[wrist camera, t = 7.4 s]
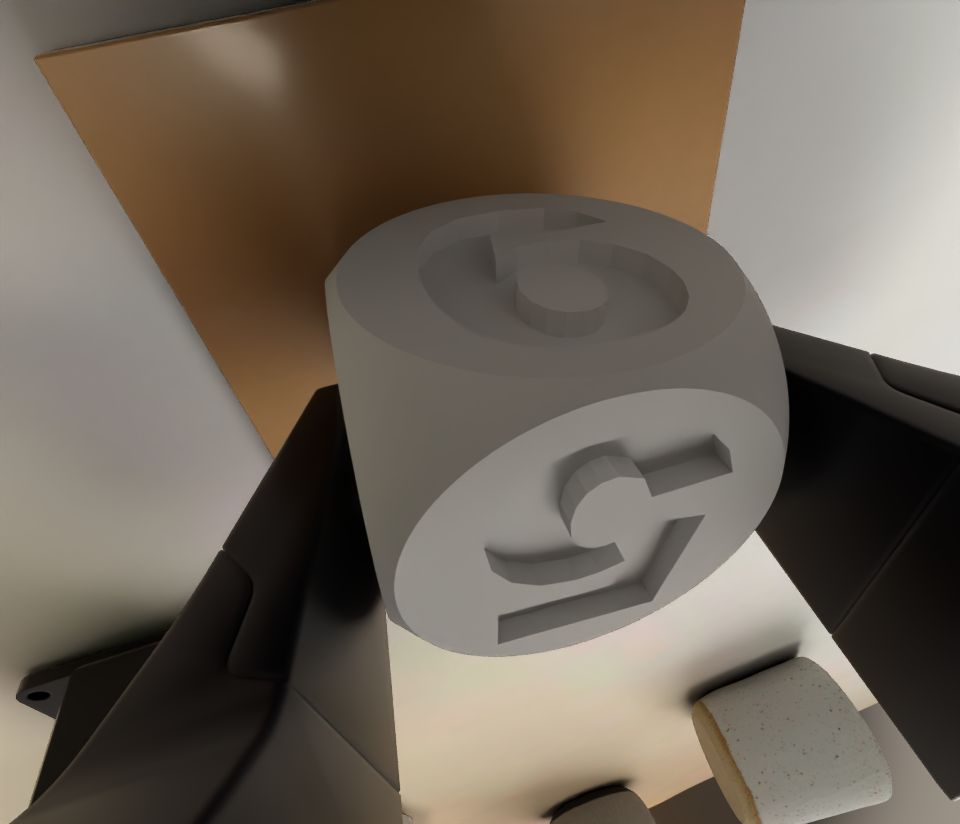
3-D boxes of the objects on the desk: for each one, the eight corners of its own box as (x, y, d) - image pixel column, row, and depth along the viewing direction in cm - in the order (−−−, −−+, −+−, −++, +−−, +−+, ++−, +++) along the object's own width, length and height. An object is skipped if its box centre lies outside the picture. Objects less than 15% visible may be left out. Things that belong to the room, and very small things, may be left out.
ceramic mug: (682, 689, 32) (766, 847, 26) (807, 637, 31) (917, 784, 26) (682, 730, 39) (748, 860, 33) (784, 688, 39) (866, 811, 33)
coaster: (668, 408, 15) (675, 417, 14) (313, 514, 13) (313, 526, 13) (743, -84, 8) (761, -85, 7) (41, 52, 7) (30, 57, 6)
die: (369, 451, 11) (407, 697, 7) (315, 210, 8) (337, 438, 4) (589, 408, 12) (722, 605, 8) (626, 177, 9) (875, 334, 5)
